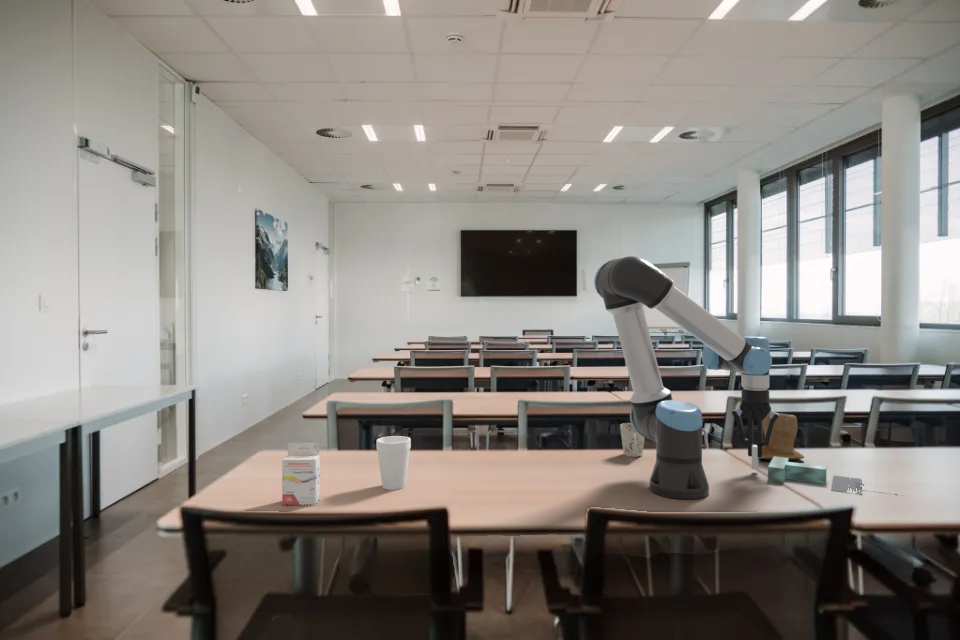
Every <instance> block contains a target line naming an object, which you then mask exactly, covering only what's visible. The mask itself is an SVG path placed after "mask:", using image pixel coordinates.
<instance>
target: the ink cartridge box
mask: <svg viewBox="0 0 960 640" xmlns="http://www.w3.org/2000/svg"><path fill="white" fill-rule="evenodd" d="M303 447H304V448H306V449H301V448H303ZM281 462H282V465H281V466H282V468H281V471H282V472H281V475H282V478H281V480H282V481H281V483H282V484H281V485H282V486H281V487H282V489H281V492H282V493H281V496H282V497H281V499H282V500H281V502H282V503H281V504H283V505H282V506H314V505H313V504H316V503H319V501H320V498H321V472H320V471H321V455H320V444H319V443H318V442H317V443H315V442H314V443H312V442H311V443H309V442H308V443H304V442H303V443H301V442H300V443H299V442H298V443H297V442H295V443H288V444H287V455H286V456H285V457H284V458H282V461H281ZM318 500H319V501H318ZM287 504H288V505H287ZM290 504H292V505H290ZM293 504H294V505H293ZM301 504H302V505H301ZM304 504H305V505H304ZM306 504H308V505H306ZM310 504H311V505H310ZM316 505H317V504H316Z"/></svg>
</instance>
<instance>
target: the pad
mask: <svg viewBox="0 0 960 640" xmlns="http://www.w3.org/2000/svg"><path fill="white" fill-rule="evenodd" d="M861 479H862V478H856V477H851V479H850V477H849V476H841V475H835V474H834V475H833V477H832V482H831V488H830V491H831V492H836V493H837V492H838V493H843V492H847V490H848V488H849V491H850V488H851V489H852V492H853V490H854V491H855V492H856V488H857V493H856V494H855V495H857V494H860V495H859V496H863V490H862V486H861V485H863V486H864V484H865V483H864V484H863V479H862V480H861ZM848 485H849V486H848ZM860 486H861V487H860ZM859 490H860V492H859ZM861 492H862V493H861Z"/></svg>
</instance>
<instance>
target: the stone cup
mask: <svg viewBox="0 0 960 640" xmlns="http://www.w3.org/2000/svg"><path fill="white" fill-rule="evenodd" d="M770 420H771V418H770V413H769V414H768V415H767V416H766V417H765V418H764V419H763V435H764V438H765V437H766V434H767V430H768V426H769V423H770ZM797 433H798V418H797V416H796V415H794V414H787V413H779V417H778V418H777V419H776V421H775V424H774V428H773V431H772V435H771V438H770V442H769V444H768V445H765V446H763V455H762V457H759V460H769V461H772V459H773V457H774V456H775V457H784V458H789V461H790V460H801V459H805V455H803V454H802V453H800V452H798V451H797V450H796V449H795V447H794V446H795V445H794V444H795V439H796V437H797Z"/></svg>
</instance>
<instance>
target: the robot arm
mask: <svg viewBox="0 0 960 640" xmlns="http://www.w3.org/2000/svg"><path fill="white" fill-rule="evenodd" d="M674 283H675V282H674V280H673V279H672V278H671V277H670V276H668V275H667V274H666V273H664V272H663V271H662V270H660V269H659V268H657V267H656V266H655V265H653V263H651V262H649V261H648V260H646V259H643V258H641V257H638V256H631V255H628V256H625V257H620V258H615V259H611V260H608V261H607V262H605V263H603V264H601V266H600V267H599V268H598V269H597V271H596V273H595V276H594V283H593V284H594V288H595V291H596V293H597V294H598V295H599V296H600V297H601V298H602V299H603V302H604V303H603V304H604V307H605V310H606V311H607V312H608V313H609V314H612V316H613V320H614V324H615V328H616V331H617V334H618V339H619V342H620V346H621V349H622V353H623V358H624V361H625V366H626V369H627V374H628V376H629V380H630V384H631V387H632V390H633V394H632V395H631V397H630V399H629V400H630V404H631V409H630V411H629V419H630V423H632V426H633V427H634V429H635V430H636V431H637V432H638V433H639V434H640V435H642V436H643V437H645V438H644V439H647V440H651V441H653V442H654V443H656V444H655V448H656V449H655V451H656V452H655V453H656V454H655V455H656V457H655V458H656V459H655V463H654V467H653V469H652V472H651V475H650V478H649V490H650V491H651V492H652V493H654V494H655V495H656V494H657V495H658V496H661V497H666V498H670V499H678V500H697V499H703V498H706V497H707V496H709V494H710V484H709V481H708V478H707V475H706V473H705V469H704V467H703V466H704V465H703V425H704V424H703V423H704V420H703V415H702V413H703V412H702V410H701V408H700V407H699V406H698V405H696V404H694V403H691V402H688V401H683V400H675V399H673V397H672V392H671V390H670V389H668V388H667V387H665V386H664V385H663V381H662V380H663V379H662V376H661V373H660V369H659V364H658V360H657V357H656V353H655V349H654V346H653V341H652V339H651V334H650V331H649V327H648V326H649V325H648V323H647V322H648V321H647V318H646V314H645V310H644V306H646V307H647V308H648V309H651V310H652V309H656V310H657V311H659V312H660V313H662V314H663V315H664V316H665V317H667V318H668V319H670V320H671V321H673V322H674V323H675V325H678V326H679V327H681V328H682V329H683V330H684V331H686V332H687V333H689V334H690V335H691V336H693V337H694V338H695V339H697V340H698V341H699V342H701V343H702V344H703V345H704V347H703V348H702V351H701V360H702V364H703V366H704V367H705V369H707V370H711V371H712V370H715V371H718V370H719V371H720V370H723V371H724V370H725V371H729V372H733V373H734V372H735V373H741V378H740V379H741V382H740V383H741V384H740V385H741V387H742V389H741V400H740V401H741V402H740V404H739V408H737V409H734V410H732V411H731V414H732V416H733V417H734V419H735V422H736V426H737V429H738V434H739V438H740V441H741V443H742V444H745V445H747V455H748V457H751V469H755V470H757V469H758V468H759V462H760V461H759V460H760V459H759V457H762V455H763V446H765V445H768V444H769V442H770V438H771V435H772V431H773V428H774V424H775V421H776V419H777V418H778V417H779V414H780V413H778V412H775V411H774V410H772V407H771V405H770V389H769V388H770V370H771V367H772V365H773V357H772V355H771V350H770V340H769V339H768V337H765V336H743V337H742V336H741V335H739V334H738V333H737V332H735V331H734V330H733V329H731V328H730V327H729V326H728V325H726V324H725V323H724V322H723V321H721V320H720V319H719V318H717V317H716V316H714V315H713V314H712V313H710V311H708V310H706V309H705V308H704V307H703V306H701V305H700V304H699V303H697V302H696V301H694V300H693V299H692V298H691V297H690V296H688V295H687V294H685V293H684V292H683V291H681V290H680V289H679V288H677V287H676V286H675V284H674ZM769 413H770V418H771V420H770V423H769V426H768V430H767V434H766V437H765V436H763V435H764V430H763V419H764V418H765V417H766V416H767V415H768V414H769ZM742 414H743V415H744V417H745V418H746V419H747V436H746V432H745V428H744V424H743V420H742V416H741V415H742ZM754 421H756V426H757V427H756V430H757V431H756V439H757V440H756V444H754ZM763 437H764V438H763Z"/></svg>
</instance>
